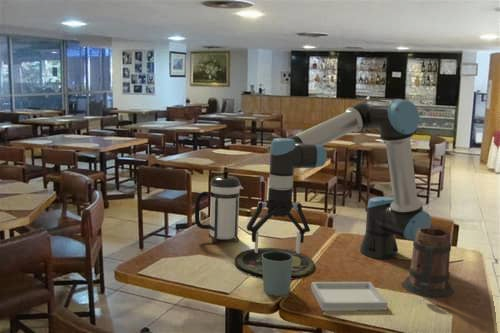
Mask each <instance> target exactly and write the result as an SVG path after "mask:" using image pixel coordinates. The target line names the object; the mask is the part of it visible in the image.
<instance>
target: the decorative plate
mask: <svg viewBox="0 0 500 333" xmlns="http://www.w3.org/2000/svg"><path fill="white" fill-rule="evenodd" d="M269 251H283V252H287V253H290V254H291V255H292V256H293V263H292V268H291V270H292V272H291V278H296V279H299V278H304V277H307V276H309V275H310V274H312V272H314V271H315V262H314V261H313V259H312V258H311V257H309V256H308V255H307V254H305V253H302V252H300V254H297V252H296V250H292V249H289V248H288V249H287V248H279V247H258V253H255V251H254V248H252V249H245V250H244V251H242V252H239V253H238V254H237V255H236V256H235V259H234V265H235V267H236V269H237V270H239V271H240V270H241V271H240V272H242V271H243V272H242V273H244V272H245V273H244V274H246V273H247V274H246V275H248V274H250V275H249V276H251V275H252V277H254V276H256V277H255V278H258V277H260V279H263V266H262V254H263V253H265V252H269Z"/></svg>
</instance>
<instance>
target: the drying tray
mask: <svg viewBox="0 0 500 333" xmlns="http://www.w3.org/2000/svg"><path fill="white" fill-rule="evenodd" d="M310 286H311V287H310V290H311V292H312V294H313V297H315V299H316V301H317V303H318V305H319V306H320V309H321V311H322V312H342V311H343V312H345V311H346V312H350V311H351V312H360V311H361V310H362V311H364V310H365V312H366V311H367V310H368V311H367V312H372V311H373V312H374V311H375V312H377V311H379V312H380V311H381V310H387V311H388V304H389V303H388V301H386V299H385V298H384V296H383V295H382V294H381V293H380V292H379V291H378V290H377V288H376V287H375V285H373V283H372V282H371V281H311V285H310ZM358 310H360V311H358ZM370 310H372V311H370ZM362 311H361V312H362Z"/></svg>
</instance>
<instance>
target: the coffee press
mask: <svg viewBox="0 0 500 333" xmlns="http://www.w3.org/2000/svg"><path fill="white" fill-rule="evenodd" d="M209 184H210V191H203V192H200V193H198V195H197V196H196V198H195V202H194V203H195V204H194V222H195V225H196V226H197V228H199V229H202V230H209V233H208V236H209V237H210V238H211V237H212V243H213V244H217V243H218V241H219V240H233V241H234V242H235V243H239V242H240V239H239V237H238V235H239V211H240V209H239V208H240V195H241V194H240V193H241V192H240V190H244V187H243V186H242V185H241V182H240V180H239V178H238V177H236V176H234V175H229V171H228V170H226V169H225V170H223V172H222V175H216V176H214V177H213V178H211V181H210V183H209ZM207 196H210V215H209V224H203V223H201V222H200V202H201V200H202V198H203V197H207Z"/></svg>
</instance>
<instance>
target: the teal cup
mask: <svg viewBox="0 0 500 333" xmlns="http://www.w3.org/2000/svg"><path fill="white" fill-rule="evenodd" d="M292 263H293V256H292V255H291V254H290V253H287V252H283V251H269V252H265V253H263V254H262V266H263V278H262V281H263V283H262V284H263V285H262V287H263V289H262V290H263V292H264V293H265V294H266V295H269V296H272V295H274V297H283V296H282V295H284V296H286V295H288V294H289V293H290V291H291V281H292V279H291V272H292V270H291V268H292Z"/></svg>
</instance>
